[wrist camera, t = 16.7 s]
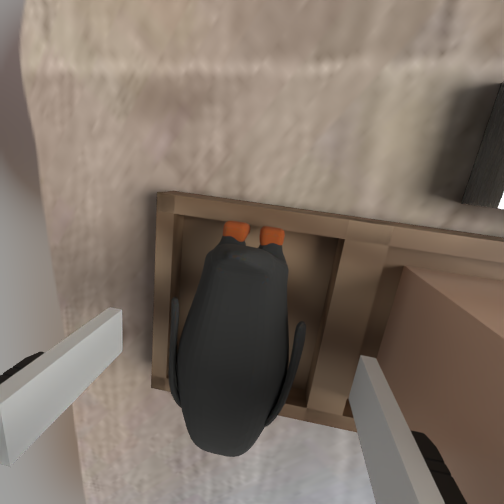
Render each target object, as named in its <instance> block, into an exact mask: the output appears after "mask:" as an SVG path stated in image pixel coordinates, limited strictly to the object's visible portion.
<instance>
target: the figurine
mask: <svg viewBox="0 0 504 504" xmlns="http://www.w3.org/2000/svg"><path fill="white" fill-rule="evenodd" d="M249 232H250V225H249V224H247V223H244V222H238V221H227V222H226V223H225V224H224V228H223V236H222V238H221V241H220V242H219V244H218V245H217V246H216V247H215V248H214V249H213V250H211V251H209V252H208V254H207V255H206V257H205V262H204V267H203V271H202V274H201V278H200V281H199V284H198V287H197V290H196V293H195V296H194V299H193V301H192V304H191V307H190V310H189V313H188V315H187V318H186V321H185V324H184V327H183V330H182V334H181V338H180V342H179V347H178V350H177V334H178V324H179V301H178V299H177V297H173V298H172V301H171V328H170V347H169V386H170V391H171V394H172V396H173V398H174V400H175V402H176V403H177V404H178V405H179V406H180V407H181V408H182V412H183V416H184V419H185V423H186V427H187V430H188V432H189V435H190V437H191V439H192V441H193V442H194V443H195V445H197V446H198V447H199V448H201V449H202V450H205V451H207V452H211V453H214V454H219V455H223V456H230V457H235V456H240V455H242V454H244V453H245V452H247V451H248V450H249V449H250V448H251V447H252V446H253V444H254V443H255V442H256V440H257V439H258V437H259V435H260V434H261V432H262V431H263V429H264V427H266V426H268V425H269V424H270V423H271V422H272V421H273V420H274V419H275V418H276V417H277V415H278V414H279V413H280V411H281V410H282V408H283V406H284V404H285V402H286V400H287V397H288V395H289V392H290V390H291V387H292V384H293V381H294V378H295V375H296V372H297V369H298V366H299V362H300V359H301V355H302V351H303V347H304V342H305V335H306V324H305V322H304V321H301V322H299V323H298V324H297V326H296V329H295V334H294V341H293V347H292V353H291V358H290V362H289V329H288V308H287V282H288V273H289V269H288V265H287V263H286V260H285V257H284V255H283V250H282V245H283V241H284V237H285V233H284V230H283V229H281V228H276V227H269V226H264V227H262V229H261V230H260V236H259V238H260V246H259V247H258V248H255V247H250V246H246V243H245V239H246V238H247V236H248V234H249ZM288 364H289V367H288ZM287 370H288V371H287Z"/></svg>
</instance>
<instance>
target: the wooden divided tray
mask: <svg viewBox="0 0 504 504" xmlns="http://www.w3.org/2000/svg"><path fill="white" fill-rule="evenodd" d="M227 221H238V222H244V223H247V224H249V225H250V232H249V234H248V236H247V238H246V239H245V243H246V246H250V247H255V248H258V247H259V246H260V238H259V236H260V230H261V229H262V227H264V226H269V227H276V228H281V229H283V230H284V233H285V237H284V241H283V245H282V250H283V255H284V257H285V260H286V263H287V265H288V269H289V273H288V282H287V308H288V329H289V362H290V358H291V353H292V347H293V341H294V334H295V329H296V326H297V324H298V323H299V322H301V321H304V322H305V324H306V335H305V342H304V347H303V351H302V355H301V359H300V362H299V366H298V369H297V372H296V375H295V378H294V381H293V384H292V387H291V390H290V392H289V395H288V397H287V400H286V402H285V404H284V406H283V408H282V410H281V411H280V413H279V414H278V415H280V416H284V417H289V418H293V419H298V420H303V421H307V422H312V423H316V424H321V425H326V426H330V427H335V428H340V429H344V430H349V431H353V432H357V429H356V425H355V421H354V417H353V414H352V410H351V406H350V402H349V394H350V391H351V387H352V384H353V380H354V377H355V373H356V369H357V366H358V362H359V359H360V355H363V356H368V357H373V358H377V355H378V352H379V348H380V345H381V342H382V338H383V335H384V332H385V328H386V325H387V321H388V318H389V315H390V311H391V308H392V305H393V301H394V298H395V294H396V291H397V288H398V284H399V281H400V278H401V274H402V271H403V267H404V266H410V267H416V268H423V269H429V270H436V271H442V272H449V273H455V274H461V275H468V276H474V277H481V278H487V279H494V280H500V281H504V238H502V237H495V236H488V235H481V234H474V233H467V232H459V231H452V230H445V229H438V228H431V227H424V226H417V225H410V224H403V223H396V222H389V221H382V220H375V219H368V218H361V217H354V216H347V215H340V214H333V213H325V212H318V211H311V210H304V209H297V208H290V207H283V206H276V205H269V204H262V203H255V202H248V201H241V200H234V199H227V198H220V197H213V196H206V195H199V194H191V193H184V192H177V191H168V192H157V213H156V246H155V278H154V311H153V343H152V376H151V388H155V389H159V390H164V391H169V392H171V391H170V386H169V347H170V328H171V301H172V298H173V297H177V299H178V301H179V324H178V334H177V350H178V347H179V342H180V338H181V334H182V330H183V327H184V324H185V321H186V318H187V315H188V313H189V310H190V307H191V304H192V301H193V299H194V296H195V293H196V290H197V287H198V284H199V281H200V278H201V274H202V271H203V267H204V262H205V257H206V255H207V254H208V252H209V251H211V250H213V249H214V248H215V247H216V246H217V245H218V244H219V242H220V241H221V238H222V236H223V228H224V224H225V223H226V222H227ZM288 367H289V364H288ZM287 371H288V370H287Z"/></svg>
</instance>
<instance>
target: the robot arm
mask: <svg viewBox="0 0 504 504" xmlns="http://www.w3.org/2000/svg"><path fill="white" fill-rule="evenodd" d="M122 351H123V349H122V309H117V308H112V307H109V308H107V309H106V310H104V311H103V312H102V313H100V314H99V315H97V316H96V317H95V318H93V319H92V320H90V321H89V322H88V323H86V324H85V325H83V326H82V327H81V328H79V329H78V330H76V331H75V332H73V333H72V334H71V335H69V336H68V337H66V338H65V339H64V340H62V341H61V342H59V343H58V344H57V345H55V346H54V347H52V348H51V349H49V350H48V351H47V352H45V353H44V352H38V353H36V354H34V355H31V356H29V357H27V358H25V359H23V360H22V361H21V362H19V363H18V364H16V365H15V366H13V368H10V369H9V370H7V371H6V372H4V373H3V375H0V464H2V465H6V466H11V465H12V464H13V463H14V462H15V461H16V460H17V459H18V458H19V457H20V456H21V455H22V454H23V453H24V452H25V451H26V450H27V449H28V448H29V447H30V446H31V445H32V444H33V443H34V441H36V440H37V439H38V438H39V437H40V435H41V434H42V433H43V432H44V431H45V430H46V429H47V428H48V427H49V426H50V425H51V424H52V423H53V422H54V421H55V420H56V419H57V418H58V417H59V416H60V415H61V414H62V413H63V412H64V411H65V410H66V409H67V408H68V406H70V405H71V404H72V403H73V402H74V401H75V400H76V398H77V397H78V396H79V395H80V394H81V393H82V392H83V391H84V390H85V389H86V388H87V387H88V386H89V385H90V384H91V383H92V382H93V381H94V380H95V379H96V378H97V377H98V376H99V375H100V374H101V373H102V372H103V371H104V370H105V369H106V368H107V367H108V366H109V365H110V364H111V363H112V361H113V360H114V359H115V358H116V357H117V356H118V355H119V354H120V353H121V352H122ZM349 402H350V406H351V410H352V414H353V417H354V421H355V425H356V429H357V433H358V436H359V440H360V444H361V448H362V451H363V455H364V459H365V463H366V467H367V470H368V474H369V478H370V482H371V486H372V489H373V493H374V497H375V501H376V504H467V502H466V500H465V498H464V497H463V495H462V493H461V491H460V489H459V487H458V486H457V484H456V482H455V480H454V478H453V477H451V473H450V471H449V469H448V467H447V465H446V464H445V463H444V460H443V458H442V456H441V454H440V452H439V451H438V449H437V447H436V446H435V445H434V444H433V442H432V441H431V440H430V439H429V438H428V437H427V436H426V435H425V434H424V433H421V432H417V431H412V430H410V429H409V427H408V425H407V422H406V420H405V418H404V416H403V414H402V412H401V410H400V408H399V406H398V404H397V401H396V399H395V397H394V395H393V393H392V391H391V389H390V387H389V385H388V382H387V380H386V378H385V376H384V374H383V372H382V370H381V368H380V366H379V364H378V361H377V359H376V358H373V357H368V356H363V355H360V359H359V362H358V366H357V369H356V373H355V377H354V380H353V384H352V387H351V391H350V394H349Z"/></svg>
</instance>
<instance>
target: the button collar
mask: <svg viewBox="0 0 504 504" xmlns="http://www.w3.org/2000/svg"><path fill="white" fill-rule="evenodd" d="M461 204H469V205H477V206H484V207H492V208H499V209H504V82H502V83H501V86H500V89H499V92H498V95H497V98H496V101H495V104H494V107H493V110H492V113H491V116H490V119H489V122H488V125H487V128H486V131H485V134H484V137H483V140H482V143H481V146H480V149H479V152H478V155H477V158H476V161H475V164H474V167H473V170H472V173H471V176H470V179H469V182H468V185H467V188H466V191H465V194H464V197H463V200H462V203H461Z"/></svg>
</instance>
